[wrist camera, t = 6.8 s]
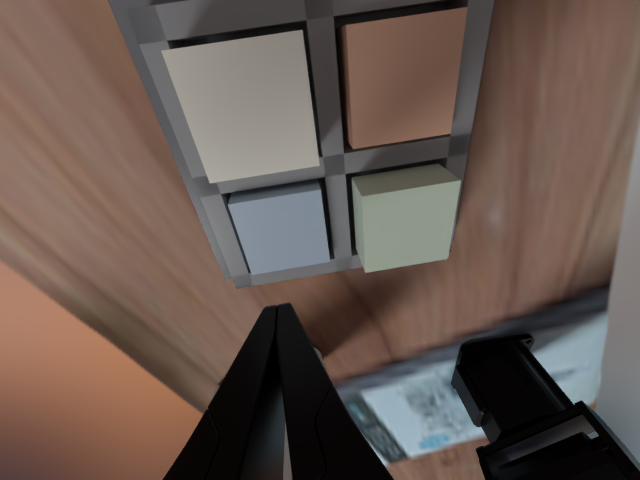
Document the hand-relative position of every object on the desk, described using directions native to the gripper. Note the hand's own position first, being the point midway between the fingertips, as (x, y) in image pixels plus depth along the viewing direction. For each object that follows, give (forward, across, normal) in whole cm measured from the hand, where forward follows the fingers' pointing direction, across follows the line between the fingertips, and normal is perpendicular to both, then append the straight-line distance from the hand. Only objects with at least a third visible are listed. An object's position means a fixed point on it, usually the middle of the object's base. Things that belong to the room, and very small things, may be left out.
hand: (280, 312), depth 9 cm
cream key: (+6, 0, -5) cm, 8 cm away
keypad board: (+8, -3, -3) cm, 9 cm away
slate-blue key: (+7, 0, 0) cm, 7 cm away
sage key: (+6, -6, 0) cm, 8 cm away
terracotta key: (+7, -6, -5) cm, 10 cm away
